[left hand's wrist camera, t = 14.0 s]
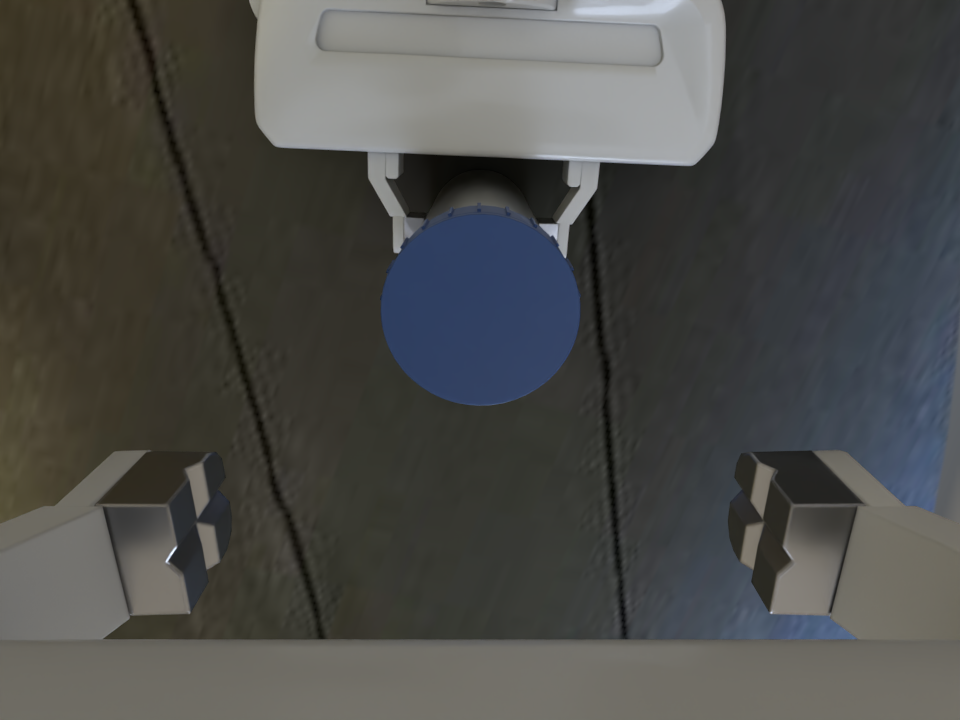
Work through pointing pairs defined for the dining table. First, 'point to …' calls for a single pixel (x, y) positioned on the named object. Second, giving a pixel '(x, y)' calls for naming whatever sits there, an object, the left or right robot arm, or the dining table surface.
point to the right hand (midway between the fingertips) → (480, 254)
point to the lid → (480, 305)
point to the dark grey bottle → (480, 193)
